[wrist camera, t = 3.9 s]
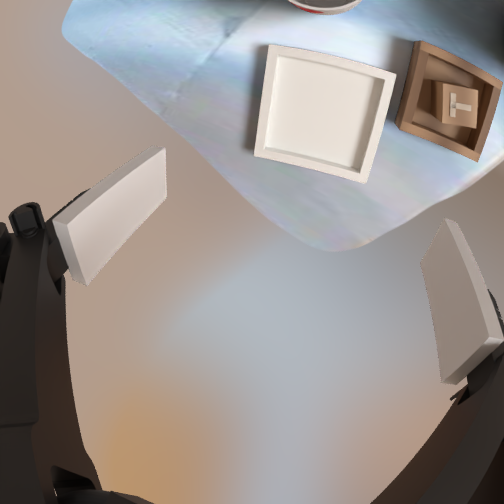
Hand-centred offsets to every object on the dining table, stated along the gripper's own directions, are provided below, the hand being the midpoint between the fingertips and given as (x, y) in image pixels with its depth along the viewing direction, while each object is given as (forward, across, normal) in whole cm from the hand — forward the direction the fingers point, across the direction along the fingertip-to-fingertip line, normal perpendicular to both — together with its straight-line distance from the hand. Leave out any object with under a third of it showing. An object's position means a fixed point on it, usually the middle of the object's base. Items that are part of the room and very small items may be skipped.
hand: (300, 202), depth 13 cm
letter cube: (+21, +13, +6) cm, 25 cm away
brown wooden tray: (+22, +13, +6) cm, 26 cm away
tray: (+22, 0, 0) cm, 22 cm away
